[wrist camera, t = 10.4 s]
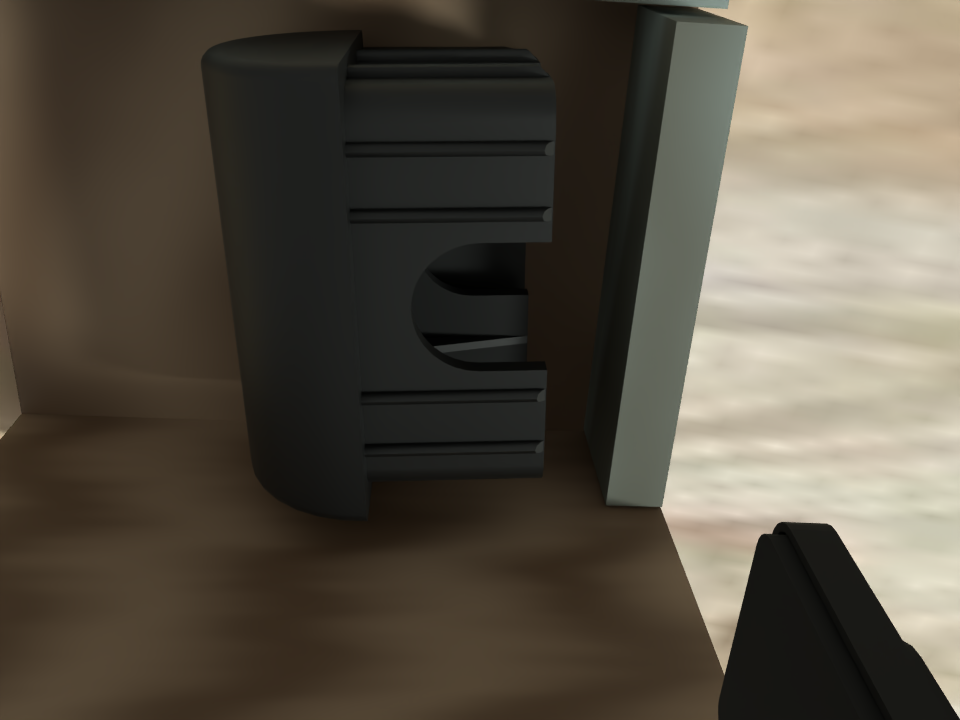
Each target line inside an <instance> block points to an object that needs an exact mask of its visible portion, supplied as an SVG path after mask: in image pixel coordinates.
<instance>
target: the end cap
mask: <svg viewBox="0 0 960 720" xmlns="http://www.w3.org/2000/svg"><path fill="white" fill-rule="evenodd" d="M201 71H202V78H203V86H204V94H205V102H206V110H207V118H208V125H209V133H210V141H211V149H212V157H213V165H214V172H215V180H216V188H217V196H218V204H219V211H220V219H221V227H222V235H223V243H224V251H225V258H226V266H227V274H228V282H229V290H230V298H231V305H232V313H233V321H234V329H235V337H236V345H237V352H238V360H239V368H240V376H241V384H242V391H243V399H244V407H245V415H246V423H247V431H248V438H249V446H250V454H251V461H252V465H253V470H254V473H255V476H256V477H257V479H258V480H259V482H260V483H261V485H262V486H263V488H264V489H265V490H266V491H267V492H269V493H270V494H271V495H272V496H273V497H275V498H276V499H277V500H278V501H280V502H282V503H284V504H286V505H288V506H290V507H292V508H294V509H296V510H299V511H302V512H305V513H308V514H312V515H315V516H318V517H324V518H330V519H337V520H345V521H368V515H369V506H370V497H371V488H372V482H384V481H427V480H470V479H513V478H542V476H543V467H544V441H545V414H546V386H547V368H546V364H545V361H530V362H527V338H528V299H529V294H528V290H527V289H525V256H526V242H552V223H553V195H554V168H555V141H556V90H555V84H554V81H553V80H552V78H551V77H550V75H549V74H548V73H547V72H545V71H544V70H543V69H542V68H541V63H540V62H539V60H538V59H537V57H536V56H534V55H533V54H532V53H531V52H530V51H529V50H528V49H512V48H509V47H505V46H496V47H363V36H362V30H335V31H310V32H293V33H282V34H271V35H262V36H254V37H247V38H241V39H235V40H231V41H227V42H222V43H220V44H217V45H215V46H213V47H211V48H209V49H208V50H207V51H206V52H205V53H204V55H203V56H202V59H201Z"/></svg>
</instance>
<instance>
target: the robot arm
mask: <svg viewBox="0 0 960 720" xmlns="http://www.w3.org/2000/svg"><path fill="white" fill-rule="evenodd" d="M718 720H960V719H959V717H958V716H957V714H956V712H955V711H954V709H953V708H952V706H951V704H950V703H949V701H948V700H947V698H946V696H945V695H944V693H943V692H942V690H941V688H940V687H939V685H938V683H937V682H936V680H935V679H934V677H933V675H932V674H931V672H930V671H929V669H928V667H927V666H926V664H925V663H924V661H923V659H922V658H921V656H920V655H919V654H918V653H917V651H916V650H915V649H914V648H913V646H911V645H909V644H908V643H906V642H904V641H903V640H902V639H901V637H900V635H899V634H898V632H897V630H896V629H895V627H894V626H893V624H892V622H891V621H890V619H889V617H888V616H887V614H886V612H885V611H884V609H883V607H882V606H881V604H880V603H879V601H878V599H877V598H876V596H875V594H874V593H873V591H872V589H871V588H870V586H869V584H868V583H867V581H866V580H865V578H864V576H863V575H862V573H861V571H860V570H859V568H858V566H857V565H856V563H855V562H854V560H853V558H852V557H851V555H850V553H849V552H848V550H847V548H846V547H845V545H844V543H843V542H842V540H841V539H840V537H839V535H838V534H837V532H836V531H835V529H834V528H833V527H832V526H831V525H828V524H821V523H795V522H781V523H778V524H777V525H776V527H775V528H774V530H773V533H772V534H763V535H761V536H760V538H759V540H758V543H757V546H756V550H755V554H754V558H753V562H752V566H751V570H750V574H749V578H748V583H747V587H746V591H745V595H744V599H743V603H742V607H741V611H740V615H739V619H738V623H737V627H736V631H735V635H734V640H733V644H732V648H731V652H730V656H729V660H728V664H727V668H726V672H725V676H724V680H723V684H722V688H721V693H720V697H719V702H718Z"/></svg>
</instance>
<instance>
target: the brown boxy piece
mask: <svg viewBox="0 0 960 720" xmlns="http://www.w3.org/2000/svg"><path fill="white" fill-rule="evenodd" d="M728 3H729V0H0V294H1V299H2V305H3V310H4V316H5V322H6V327H7V333H8V338H9V344H10V350H11V355H12V361H13V366H14V372H15V378H16V383H17V389H18V395H19V400H20V406H21V411H22V414H21V415H20V417H19V418H18V419H17V420H16V421H15V423H14V424H13V425H12V426H11V427H10V429H9V430H8V431H7V432H6V433H5V435H4V436H3V437H2V438H1V439H0V720H718V702H719V697H720V693H721V688H722V684H723V680H724V673H723V670H722V668H721V665H720V663H719V660H718V657H717V655H716V652H715V649H714V647H713V644H712V642H711V639H710V636H709V634H708V631H707V628H706V626H705V623H704V621H703V618H702V615H701V613H700V610H699V607H698V605H697V602H696V600H695V597H694V594H693V592H692V589H691V587H690V584H689V581H688V579H687V576H686V573H685V571H684V568H683V566H682V563H681V560H680V558H679V555H678V552H677V550H676V547H675V545H674V542H673V539H672V537H671V534H670V531H669V529H668V526H667V524H666V521H665V518H664V516H663V513H662V510H661V508H660V507H662V504H663V498H664V492H665V487H666V481H667V476H668V470H669V465H670V459H671V453H672V448H673V442H674V437H675V431H676V425H677V420H678V414H679V409H680V403H681V398H682V392H683V386H684V381H685V375H686V370H687V364H688V359H689V353H690V347H691V342H692V336H693V331H694V325H695V320H696V314H697V308H698V303H699V297H700V292H701V286H702V280H703V275H704V269H705V264H706V258H707V253H708V247H709V241H710V236H711V230H712V225H713V219H714V214H715V208H716V202H717V197H718V191H719V186H720V180H721V174H722V169H723V163H724V158H725V152H726V147H727V141H728V135H729V130H730V124H731V119H732V113H733V108H734V102H735V96H736V91H737V85H738V80H739V74H740V68H741V63H742V57H743V52H744V46H745V41H746V35H747V29H748V26H746V25H744V24H741V23H738V22H735V21H732V20H729V19H726V18H723V17H720V16H717V15H714V14H712V13H709V12H706V11H703V10H700V9H698V7H706V8H722V9H728ZM335 30H362V36H363V47H496V46H505V47H509V48H512V49H528V50H529V51H530V52H531V53H532V54H533V55H534V56H536V57H537V59H538V60H539V62H540V63H541V68H542V69H543V70H544V71H545V72H547V73H548V74H549V75H550V77H551V78H552V80H553V81H554V84H555V90H556V141H555V168H554V195H553V223H552V242H526V256H525V289H527V290H528V294H529V299H528V338H527V362H530V361H545V364H546V368H547V386H546V414H545V441H544V467H543V476H542V478H513V479H470V480H427V481H384V482H372V488H371V497H370V506H369V515H368V521H345V520H337V519H330V518H324V517H318V516H315V515H312V514H308V513H305V512H302V511H299V510H296V509H294V508H292V507H290V506H288V505H286V504H284V503H282V502H280V501H278V500H277V499H276V498H275V497H273V496H272V495H271V494H270V493H269V492H267V491H266V490H265V489H264V488H263V486H262V485H261V483H260V482H259V480H258V479H257V477H256V476H255V473H254V470H253V465H252V461H251V454H250V446H249V438H248V431H247V423H246V415H245V407H244V399H243V391H242V384H241V376H240V368H239V360H238V352H237V345H236V337H235V329H234V321H233V313H232V305H231V298H230V290H229V282H228V274H227V266H226V258H225V251H224V243H223V235H222V227H221V219H220V211H219V204H218V196H217V188H216V180H215V172H214V165H213V157H212V149H211V141H210V133H209V125H208V118H207V110H206V102H205V94H204V86H203V78H202V71H201V59H202V56H203V55H204V53H205V52H206V51H207V50H208V49H209V48H211V47H213V46H215V45H217V44H220V43H222V42H227V41H231V40H235V39H241V38H247V37H254V36H262V35H271V34H282V33H293V32H310V31H335Z"/></svg>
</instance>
